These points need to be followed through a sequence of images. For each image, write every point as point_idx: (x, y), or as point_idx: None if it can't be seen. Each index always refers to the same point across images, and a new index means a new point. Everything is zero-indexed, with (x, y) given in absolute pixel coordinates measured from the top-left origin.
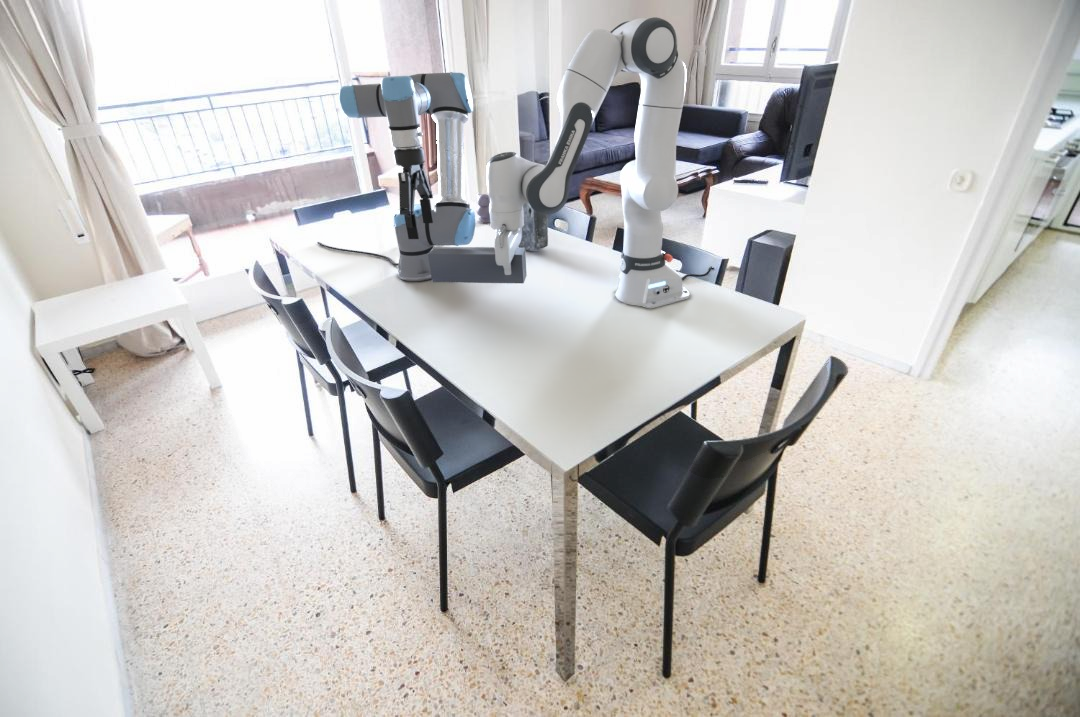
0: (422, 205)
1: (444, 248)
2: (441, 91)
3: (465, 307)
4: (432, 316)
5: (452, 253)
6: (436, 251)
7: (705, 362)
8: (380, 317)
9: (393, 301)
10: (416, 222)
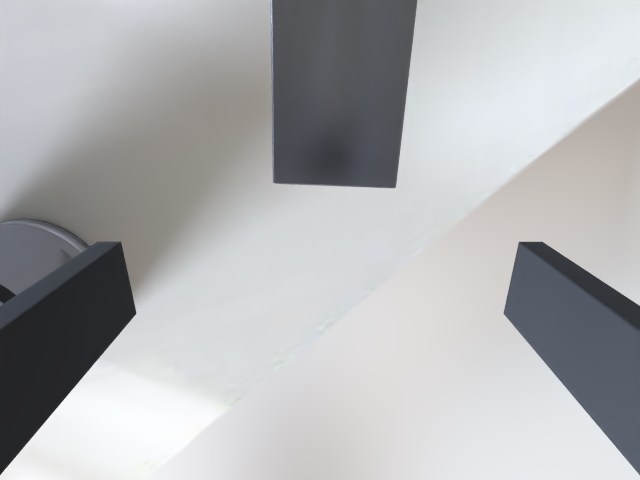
0: (24, 419)
1: (300, 103)
2: None
3: None
4: None
5: (405, 12)
6: (356, 143)
7: None
8: (349, 299)
9: (251, 298)
10: (629, 314)
